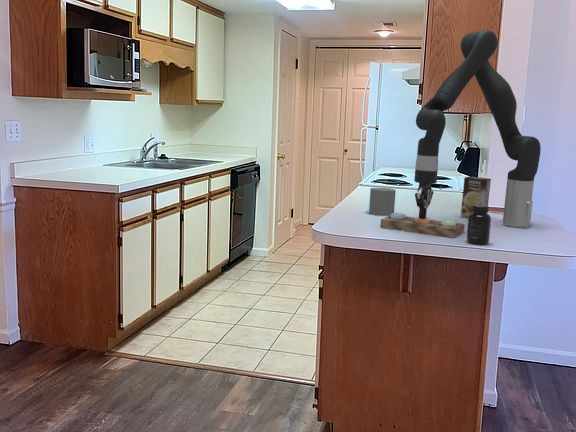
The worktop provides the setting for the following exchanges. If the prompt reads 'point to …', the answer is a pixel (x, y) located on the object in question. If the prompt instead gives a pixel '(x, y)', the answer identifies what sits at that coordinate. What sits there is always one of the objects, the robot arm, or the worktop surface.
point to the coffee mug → (382, 201)
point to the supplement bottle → (479, 225)
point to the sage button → (448, 223)
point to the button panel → (423, 227)
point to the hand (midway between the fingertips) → (422, 218)
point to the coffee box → (474, 194)
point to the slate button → (398, 216)
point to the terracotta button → (422, 220)
